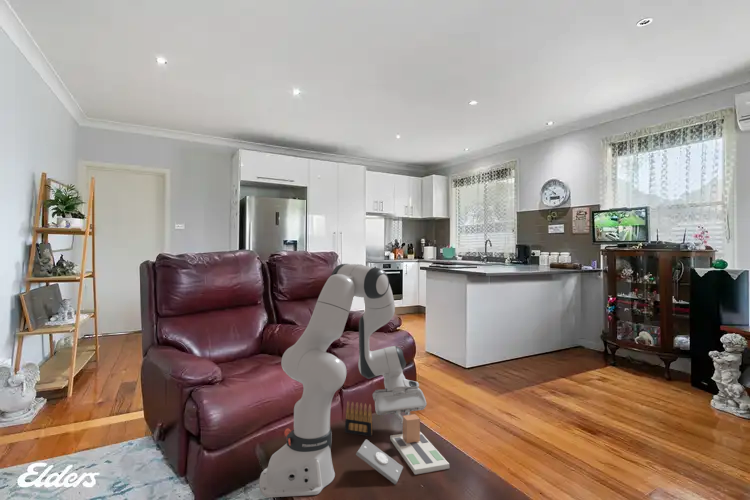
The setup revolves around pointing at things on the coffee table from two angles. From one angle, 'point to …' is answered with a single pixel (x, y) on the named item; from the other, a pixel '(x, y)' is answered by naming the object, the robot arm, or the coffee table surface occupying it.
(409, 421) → the tan rectangular block
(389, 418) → the coffee table surface
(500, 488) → the coffee table surface
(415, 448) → the switch board
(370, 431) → the ammunition clip
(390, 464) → the light switch
